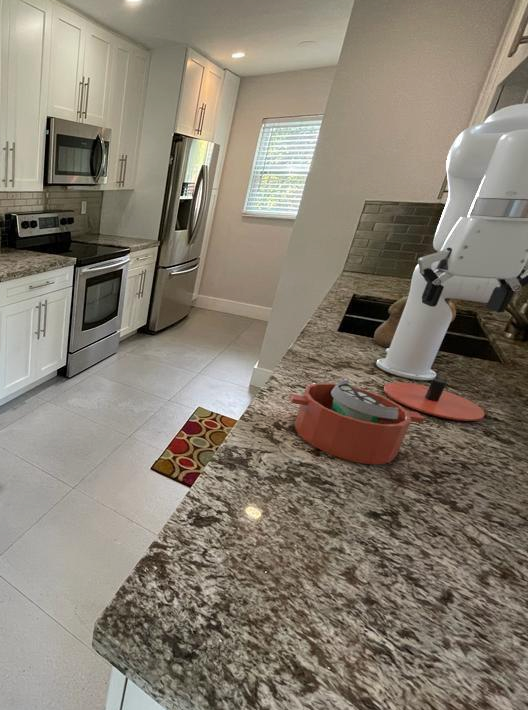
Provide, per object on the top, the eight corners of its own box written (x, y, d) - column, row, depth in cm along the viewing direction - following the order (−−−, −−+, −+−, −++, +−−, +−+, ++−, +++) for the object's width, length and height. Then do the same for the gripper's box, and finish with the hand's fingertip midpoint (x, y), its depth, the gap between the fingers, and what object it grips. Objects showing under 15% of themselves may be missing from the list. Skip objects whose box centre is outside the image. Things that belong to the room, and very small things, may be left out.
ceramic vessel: (419, 341, 138) (456, 252, 128) (460, 367, 119) (507, 265, 108) (364, 335, 143) (394, 249, 132) (394, 359, 124) (433, 260, 113)
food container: (306, 419, 90) (319, 379, 86) (332, 419, 90) (346, 378, 87) (352, 455, 78) (369, 409, 75) (382, 454, 79) (401, 409, 75)
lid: (369, 381, 109) (377, 360, 107) (451, 392, 104) (461, 370, 102) (405, 414, 94) (415, 391, 91) (504, 429, 89) (517, 405, 87)
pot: (271, 408, 95) (280, 376, 92) (385, 426, 89) (399, 392, 86) (293, 451, 80) (305, 413, 77) (431, 475, 74) (450, 436, 71)
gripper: (550, 211, 70) (505, 307, 76) (426, 207, 75) (393, 297, 81) (592, 214, 63) (539, 319, 69) (453, 209, 68) (414, 308, 74)
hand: (460, 307), depth 75 cm, fingers open, 9 cm apart
